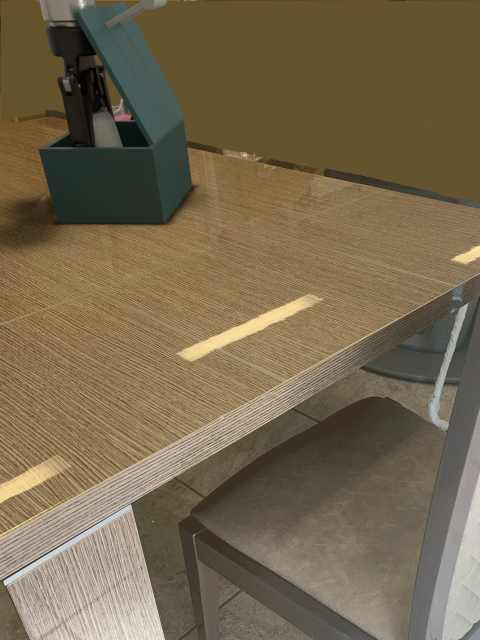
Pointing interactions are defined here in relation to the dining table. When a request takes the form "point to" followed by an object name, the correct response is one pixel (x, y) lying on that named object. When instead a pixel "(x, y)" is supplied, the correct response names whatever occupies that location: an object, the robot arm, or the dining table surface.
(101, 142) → the can
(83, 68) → the robot arm
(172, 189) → the cooler
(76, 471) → the dining table surface
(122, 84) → the cooler lid
